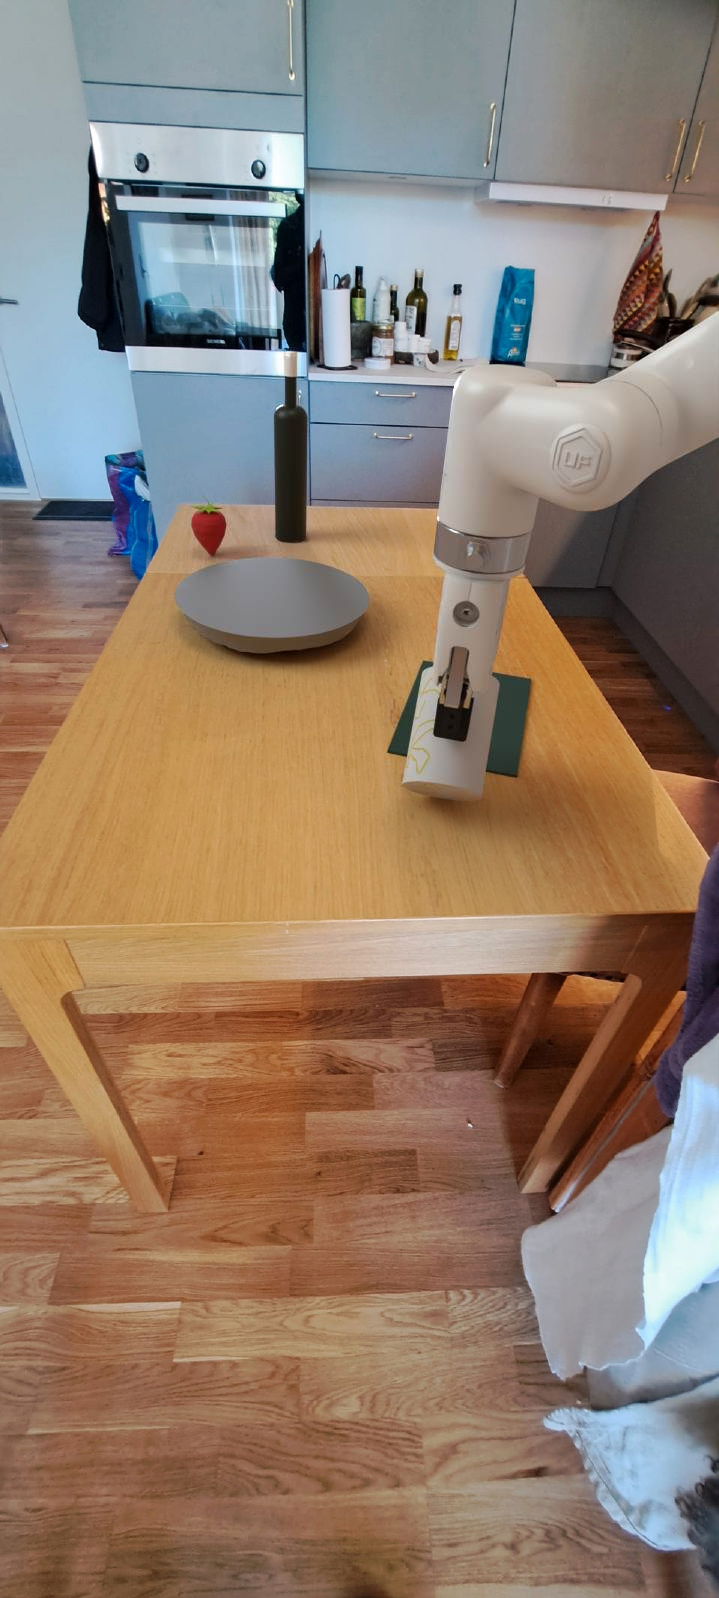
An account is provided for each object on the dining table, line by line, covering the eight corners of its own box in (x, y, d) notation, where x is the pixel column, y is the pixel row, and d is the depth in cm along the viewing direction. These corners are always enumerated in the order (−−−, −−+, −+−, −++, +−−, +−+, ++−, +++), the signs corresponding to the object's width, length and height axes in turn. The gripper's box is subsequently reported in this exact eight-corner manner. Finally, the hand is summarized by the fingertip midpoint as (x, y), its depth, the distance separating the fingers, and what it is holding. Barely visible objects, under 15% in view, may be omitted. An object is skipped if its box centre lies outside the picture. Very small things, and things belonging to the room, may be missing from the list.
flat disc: (172, 588, 117) (169, 560, 114) (343, 580, 123) (344, 554, 120) (184, 675, 96) (181, 644, 93) (389, 660, 102) (392, 630, 99)
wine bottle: (275, 531, 140) (273, 347, 121) (306, 532, 140) (308, 349, 121) (275, 542, 135) (272, 353, 116) (306, 543, 136) (308, 355, 117)
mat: (530, 680, 100) (531, 678, 100) (517, 777, 82) (517, 775, 82) (422, 662, 102) (423, 660, 102) (387, 752, 85) (387, 750, 85)
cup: (386, 783, 76) (406, 674, 78) (447, 802, 80) (465, 697, 82) (434, 779, 69) (454, 659, 71) (497, 799, 73) (516, 685, 75)
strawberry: (191, 562, 125) (185, 502, 119) (196, 546, 131) (191, 488, 125) (226, 563, 126) (222, 503, 120) (230, 547, 132) (226, 489, 125)
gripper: (521, 587, 53) (480, 788, 64) (533, 522, 64) (497, 703, 75) (418, 571, 54) (396, 772, 65) (448, 510, 65) (425, 690, 77)
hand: (450, 734), depth 70 cm, fingers closed
